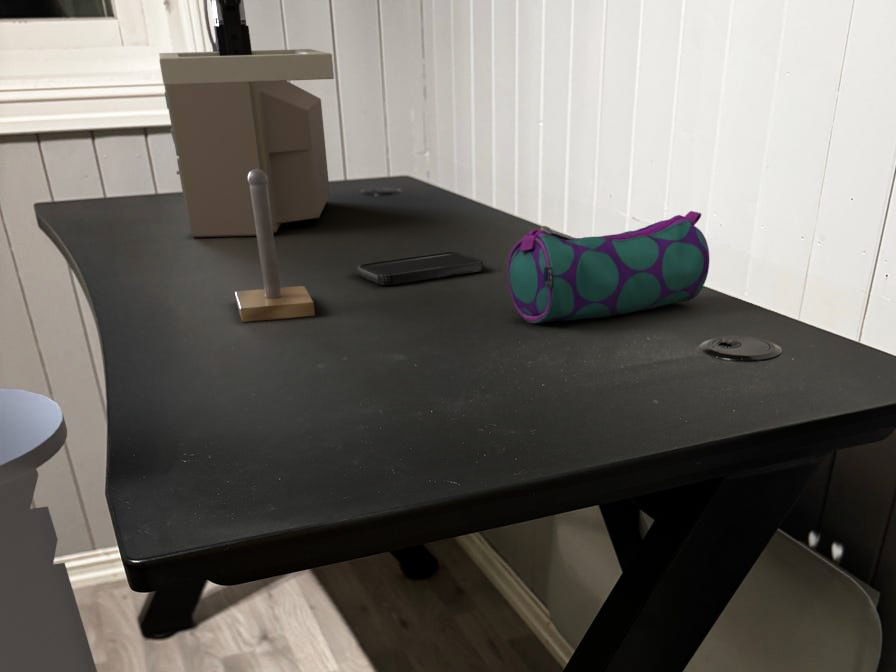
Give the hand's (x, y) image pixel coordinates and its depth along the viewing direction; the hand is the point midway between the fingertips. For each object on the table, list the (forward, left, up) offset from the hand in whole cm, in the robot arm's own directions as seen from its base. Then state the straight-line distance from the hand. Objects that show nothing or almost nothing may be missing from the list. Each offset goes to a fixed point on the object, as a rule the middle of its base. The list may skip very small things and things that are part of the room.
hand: (237, 70), depth 96 cm
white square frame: (0, -7, 0) cm, 7 cm away
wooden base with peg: (0, -3, -23) cm, 23 cm away
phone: (+20, +9, -23) cm, 32 cm away
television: (+5, +60, -24) cm, 65 cm away
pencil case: (+35, -17, -24) cm, 46 cm away
